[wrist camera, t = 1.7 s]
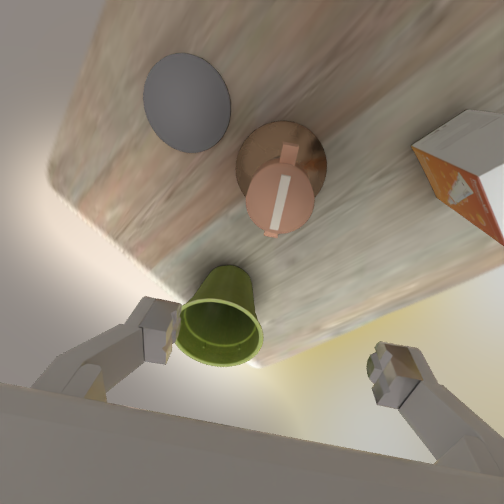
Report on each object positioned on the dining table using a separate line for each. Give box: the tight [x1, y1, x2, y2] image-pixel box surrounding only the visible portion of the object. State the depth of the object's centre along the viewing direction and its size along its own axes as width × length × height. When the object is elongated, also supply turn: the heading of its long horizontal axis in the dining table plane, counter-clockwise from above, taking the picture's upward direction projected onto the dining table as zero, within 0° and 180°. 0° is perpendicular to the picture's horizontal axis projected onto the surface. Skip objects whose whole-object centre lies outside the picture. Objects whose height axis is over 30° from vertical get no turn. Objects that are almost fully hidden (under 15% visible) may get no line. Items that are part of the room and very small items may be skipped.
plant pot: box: [175, 265, 263, 367], centre depth 40 cm, size 12×12×11 cm
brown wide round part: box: [236, 121, 327, 198], centre depth 31 cm, size 11×11×8 cm
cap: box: [246, 142, 315, 238], centre depth 26 cm, size 9×6×4 cm, turn 170°
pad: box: [143, 53, 231, 153], centre depth 32 cm, size 10×10×1 cm
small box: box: [411, 109, 504, 246], centre depth 27 cm, size 8×6×13 cm
